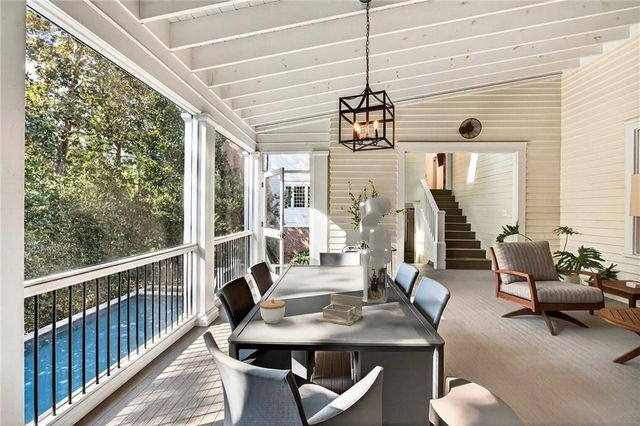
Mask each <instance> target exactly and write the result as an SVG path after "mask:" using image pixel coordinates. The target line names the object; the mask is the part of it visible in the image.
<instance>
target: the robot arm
mask: <svg viewBox="0 0 640 426" xmlns="http://www.w3.org/2000/svg"><path fill="white" fill-rule="evenodd" d="M358 207H359V213H360V216H361V219H360V220H359V224H358V236H359V240H360V241H362V242H364V244H365V245H366V246H369V247H367V248H364V249H363V250H362V252H361V259H362V269H363V271H362V272H363V273H362V274H363V280H362V281H363V284H362V285H363V296H361V297H362V303H363V302H364V303H369V304H371V303H372V304H373V303H374V304H375V303H378V302H367V269H368V268H369V277H370V280H371V291H375V292H377V291H378V283H377V279H378V278H379V273H380V270H381V269H383V268H386V267H385V265H388V264H391V262H392V237H391V232H390V231H389V230H387V229H386V227H384V226H379V223H380V222H381V220H382V218H383V216H384V215H388V214H389V213H391V210H392V201H391V199H390V198H389V197H385V196H384V197H383V196H381V197H380V196H378V197H377V196H375V197H374V196H373V197H368V198H367V199H365V200H363V201H360V203H359V206H358ZM374 275H376V277H374ZM374 278H375V279H374Z"/></svg>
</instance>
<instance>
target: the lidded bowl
mask: <svg viewBox="0 0 640 426" xmlns="http://www.w3.org/2000/svg"><path fill="white" fill-rule="evenodd" d="M259 309H260V315H261V318H262V319H263V320H264V321H265V322H267V324H271V323H273V324H278V323H280V322H281V321H282V319H283V317H284V316H285V313H286V302H285V300H280V299H274V298H272V299H267V300H264V301H261V302H260V303H259Z"/></svg>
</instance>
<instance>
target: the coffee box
mask: <svg viewBox="0 0 640 426" xmlns="http://www.w3.org/2000/svg"><path fill="white" fill-rule="evenodd" d="M374 277H376V275H374ZM374 279H375V278H374ZM377 283H378V291H377V292H375V291H371V280H370V277H369V268H368V269H367V302H366V303H368V302H377V303H379V304H380V303H381V304H386V303H387V301H388V268H387V267H385V268H383V269H381V270H380V273H379V278H378V279H377Z"/></svg>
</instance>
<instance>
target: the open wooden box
mask: <svg viewBox="0 0 640 426" xmlns="http://www.w3.org/2000/svg"><path fill="white" fill-rule="evenodd" d="M362 297H363V296H361V297H360V296H354V295H345V294H338V293H330V304H329V305H326V306H325V307H323V308H322V314H321V315H319V316H317V317H316V318H315V320H316V321H319V322H324V323H325V322H326V323H331V324H335V325H341V326H347V327H349V326H350V325H352V324H354V323H355V322H357V321H359V320H360V319H361V318H362V317H363V301H362Z"/></svg>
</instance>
